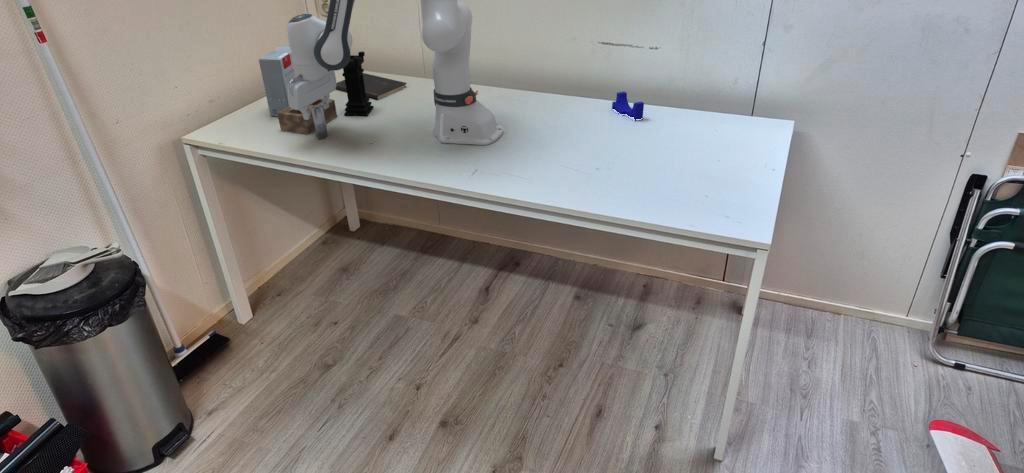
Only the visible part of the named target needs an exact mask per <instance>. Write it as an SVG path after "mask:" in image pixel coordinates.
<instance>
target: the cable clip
mask: <svg viewBox="0 0 1024 473" xmlns="http://www.w3.org/2000/svg"><path fill="white" fill-rule="evenodd" d="M644 106H645V103H644V102H643V101H637V102H633V106H632V107H631V106H630V105H629V101H628V96H627V92H626V91H620V92H616V100H615V101H612V104H611V110H612V109H615V110H616V111H617V112H619V113H620V114H627V115H628V116H630V117H634V119H635V120H636V119H641V118H644Z"/></svg>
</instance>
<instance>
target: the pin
mask: <svg viewBox="0 0 1024 473" xmlns="http://www.w3.org/2000/svg"><path fill="white" fill-rule="evenodd" d="M311 111H312V116H313V121H314V126H315V131H314V132H315V135H316V138H317V139H319V140H324V139H327V138H328V137H329V134H328V133H329V132H328V128H327V123H326V121H325V116H324V110H323V106H322V105H314V106H312V107H311Z"/></svg>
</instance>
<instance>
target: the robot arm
mask: <svg viewBox="0 0 1024 473" xmlns="http://www.w3.org/2000/svg"><path fill="white" fill-rule="evenodd" d="M355 2H356V0H329V4H328V11H327V16H326V20H322V19H320V18H318V17H316V16H315V15H314V14H312V13H311V14H310V13H301V14H298V15H296V16H294V17H292V18H291V19H290V20H289V21H288V23H287V38H288V44H289V46H288V47H290V49H291V51H292V55H293V58H292V62H293V68H294V73H295V78H293V79H291V80H290V83H289V85H288V102H289V107H290V108H291V109H294V110H300V111H301V113H302V114H303V118H304V119H305V120H308V119H310V118H311V114H310V113H308V112H307V109H308V108H307V106H309V105H310V104H312V103H314V102H315V101H317V100H319V99H321V98H323V100H322V103H321V105H322V106H323V109H327V108H328V107H329V105H328V102H329V99H330V97H331V95H330V94H331V93H333V92H334V91H337V90H336V86H337V83H338V82H337V78H336V72H335V71H340V70H343V68H344V67H345V66H346V65H347V64H348V63H349V60H350V55H351V50H352V46H353V37H352V33H351V32H350V31H349V30H350V24H351V20H352V19H351V18H352V13H353V9H354V6H355ZM420 9H421V10H420V11H421V19H422V20H421V21H422V27H421V39H422V41H423V43H424V45H425V46H426V47H427V48H428V49H429V50H431V51H432V52H434V55H433V56H434V58H433V62H432V73H433V85H434V86H433V87H434V88H433V101H434V106H435V118H434V125H433V130H432V133H433V135H434V136H435V137H437V138H438V140H439V142H440V143H443V144H456V145H457V144H459V145H460V144H462V145H478V146H479V145H481V146H487V145H490V144H493V143H495V142H496V141H497V140H499V139H500V138H501V136H502V135H503V133H504V127H503V126H502V125H499V124H497V121H496V118H495V117H496V116H495V114H494V112H492V111H491V110H490V109H489V108H487V106H485V105H484V104H482V103H481V102H480V101H478V100H477V95H478V94H479V93H478V92H479V91H478V90H476V91H475V92H474V90H473V88H472V87H471V78H470V77H471V76H470V54H471V44H472V42H471V40H472V25H473V13H472V12H471V9H470V7H469V6H468V5H466V4H465V3H464V2H462V1H458V0H420Z"/></svg>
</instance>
